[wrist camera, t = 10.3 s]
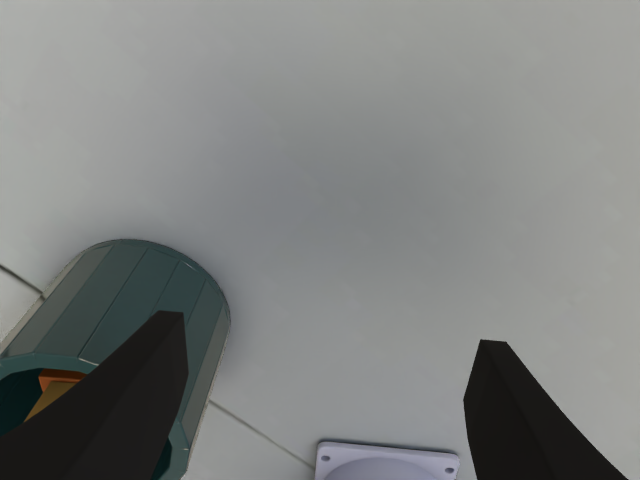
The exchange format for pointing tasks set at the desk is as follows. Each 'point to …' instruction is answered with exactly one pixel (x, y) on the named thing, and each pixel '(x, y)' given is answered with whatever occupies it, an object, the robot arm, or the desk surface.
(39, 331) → the cup
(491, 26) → the desk surface
